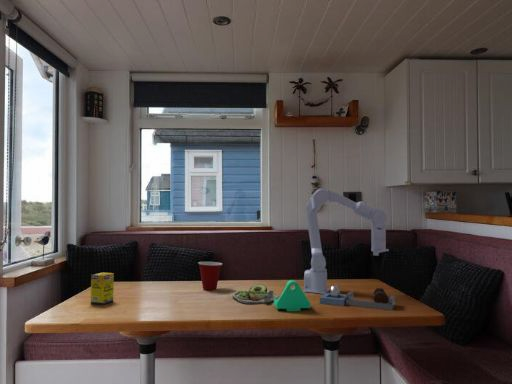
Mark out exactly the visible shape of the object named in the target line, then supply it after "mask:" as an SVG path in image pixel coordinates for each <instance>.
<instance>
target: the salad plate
mask: <svg viewBox="0 0 512 384" xmlns="http://www.w3.org/2000/svg"><path fill="white" fill-rule="evenodd" d="M232 298H233V299H234V300H236V301H237V302H239V303H241V304H246V305H257V304H258V305H260V304H268V303H271V302H274V299H278V296H277V295H276V294H274V290H268V287H267V286H266V285H265V284H255V285H252V286H250V287H249V290H248V291H247V290H246V291H245V290H239V291H235V292H233V293H232Z"/></svg>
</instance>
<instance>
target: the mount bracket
mask: <svg viewBox="0 0 512 384" xmlns="http://www.w3.org/2000/svg"><path fill="white" fill-rule="evenodd" d="M345 295H346V304H345V305H346V306H350V307H351V306H352V307H360V308H361V307H363V308H370V309H378V310H380V309H381V310H387V311H393V310H394V307H395V305H396V298H395V296H396V295H393V294H391V295H390V296H389V297H388V298H389V301H388V303H380V302H374V301H370V300H369V301H368V300H361V299H360V300H359V299H354V291H352V290H350V291H349V292H347V293H346V294H345Z"/></svg>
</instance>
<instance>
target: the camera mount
mask: <svg viewBox="0 0 512 384" xmlns="http://www.w3.org/2000/svg"><path fill="white" fill-rule="evenodd" d="M292 286H294V287H293V288H291V287H292ZM273 304H274V307H275V308H276V309H277V310H279V309H281V310H283V309H284V310H286V311H287V312H297V311H298V312H300V311H301V309H311V302H310V300H309V298H308V297H307V296H306V294H305V292H304V290H303V289H302V287H301V286H300V284H299V283H298V282H297V281H296V280H293V279H290V280H288V281H287V282H286V283H285V287H284V289H283V291H282V293H281V294H280V296H279V297H278V298H277V299H274V301H273Z"/></svg>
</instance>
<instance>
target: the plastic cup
mask: <svg viewBox="0 0 512 384" xmlns="http://www.w3.org/2000/svg"><path fill="white" fill-rule="evenodd" d="M197 263H198V266H199V267H198V268H199V273H200V277H201V278H200V279H201V284H202V289H203V291H206V292H209V291H210V292H213V291H216V290H217V287H218V282H219V279H220V278H219V277H220V271H221V268H222V266H223V263H222V262H216V261H215V262H214V261H199V262H197Z"/></svg>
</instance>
